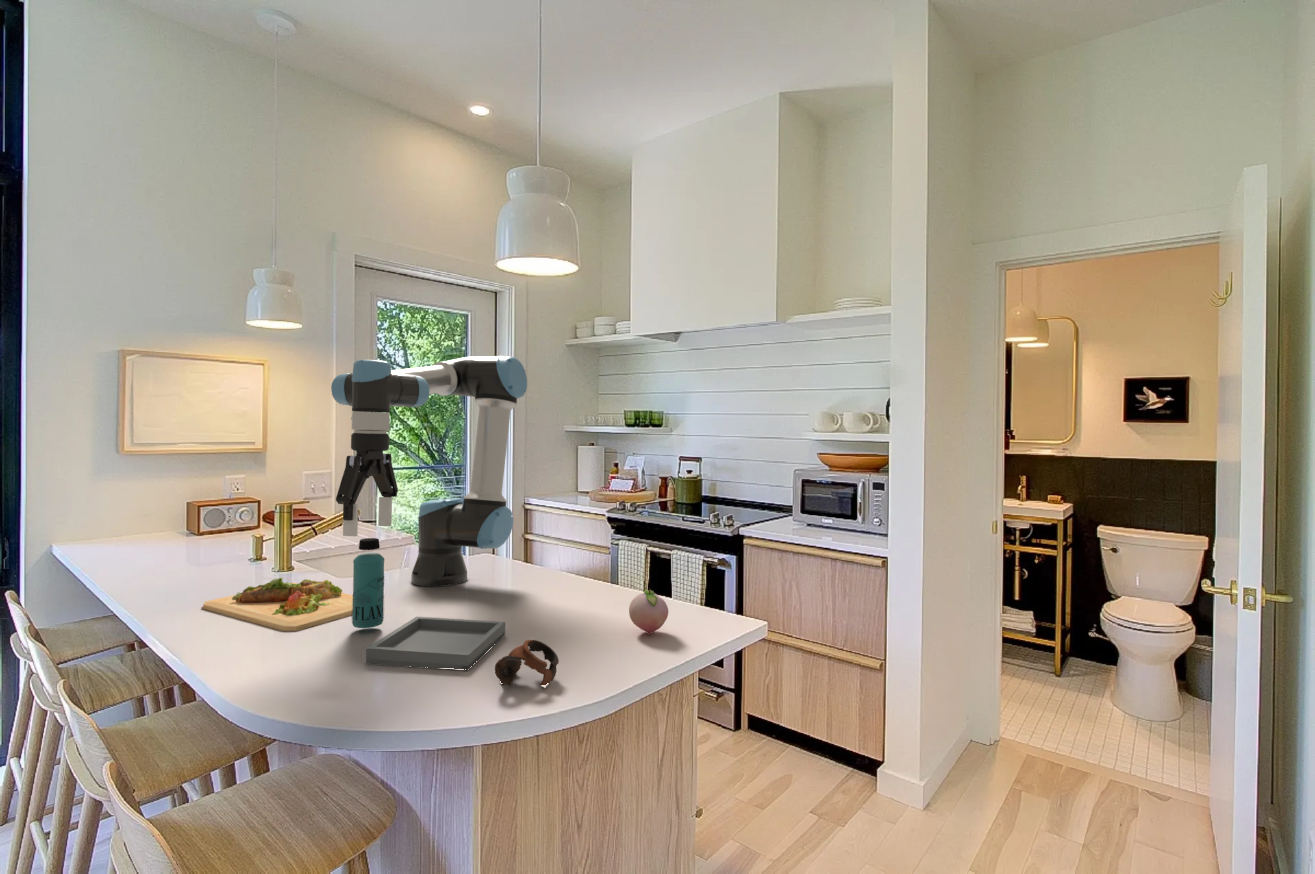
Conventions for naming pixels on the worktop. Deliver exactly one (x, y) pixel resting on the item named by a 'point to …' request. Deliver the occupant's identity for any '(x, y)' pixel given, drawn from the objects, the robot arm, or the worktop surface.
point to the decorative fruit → (648, 611)
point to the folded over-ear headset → (527, 662)
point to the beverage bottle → (368, 586)
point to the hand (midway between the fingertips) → (368, 530)
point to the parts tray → (436, 643)
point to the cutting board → (286, 604)
